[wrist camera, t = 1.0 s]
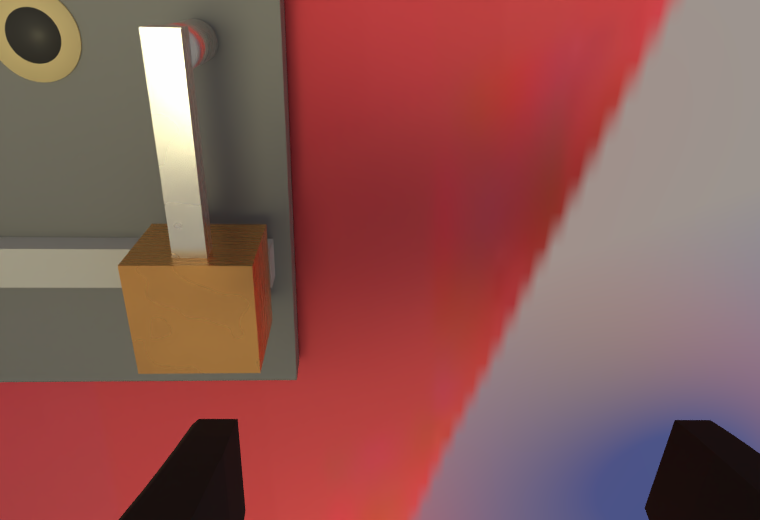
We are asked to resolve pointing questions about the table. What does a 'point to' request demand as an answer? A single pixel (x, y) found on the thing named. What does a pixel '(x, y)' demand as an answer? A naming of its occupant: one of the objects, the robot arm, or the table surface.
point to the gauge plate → (127, 174)
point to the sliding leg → (191, 236)
